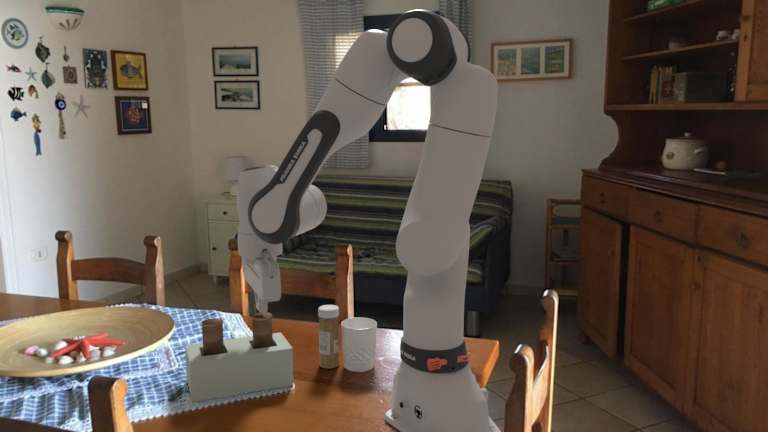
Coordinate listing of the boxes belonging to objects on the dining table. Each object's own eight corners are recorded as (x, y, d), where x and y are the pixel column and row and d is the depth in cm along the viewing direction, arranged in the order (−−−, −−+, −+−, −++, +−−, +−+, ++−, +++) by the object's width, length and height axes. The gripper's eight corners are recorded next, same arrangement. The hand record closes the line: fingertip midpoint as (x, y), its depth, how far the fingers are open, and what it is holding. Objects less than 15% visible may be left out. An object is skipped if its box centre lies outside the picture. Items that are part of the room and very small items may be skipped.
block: (293, 385, 125) (292, 348, 124) (192, 402, 117) (190, 363, 116) (281, 367, 134) (280, 332, 133) (186, 381, 126) (185, 345, 125)
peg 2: (275, 349, 125) (274, 317, 124) (255, 352, 124) (254, 319, 123) (270, 343, 129) (269, 311, 128) (251, 345, 127) (250, 313, 126)
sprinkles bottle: (343, 366, 134) (342, 308, 132) (324, 371, 132) (324, 311, 130) (333, 359, 138) (332, 302, 136) (315, 363, 136) (314, 306, 134)
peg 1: (225, 357, 121) (224, 323, 120) (204, 360, 120) (202, 326, 119) (222, 349, 125) (221, 317, 124) (201, 352, 123) (200, 319, 122)
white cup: (343, 374, 130) (343, 330, 128) (339, 360, 138) (338, 318, 136) (379, 372, 132) (380, 327, 130) (373, 358, 139) (373, 316, 138)
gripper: (288, 254, 115) (289, 324, 117) (265, 235, 133) (266, 295, 135) (255, 257, 112) (256, 328, 114) (235, 236, 131) (237, 298, 133)
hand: (261, 310), depth 125 cm, fingers closed
